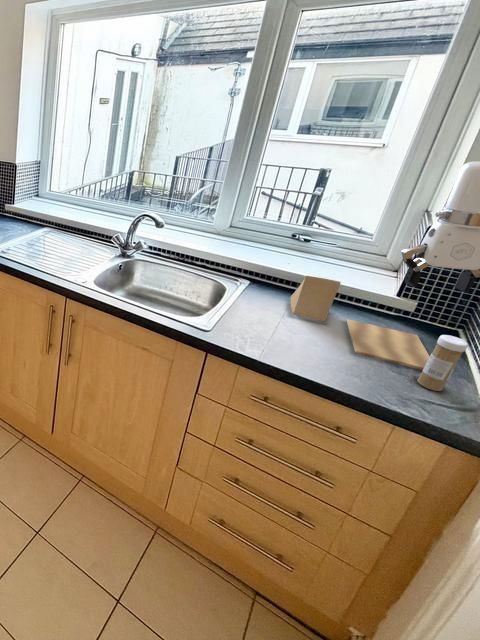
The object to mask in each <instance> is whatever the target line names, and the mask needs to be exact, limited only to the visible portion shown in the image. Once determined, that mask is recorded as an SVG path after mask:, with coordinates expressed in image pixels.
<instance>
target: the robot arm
mask: <svg viewBox="0 0 480 640" xmlns="http://www.w3.org/2000/svg"><path fill="white" fill-rule="evenodd" d="M434 216H435V217H436V218H439V220H435V221H434V222H433V223H432V225H431V226H430V228H428V230H427V232H426V234H425V236H424V237H423V239H422V241H421V243H420V245H415V246H412V247H409V248H405V249H402V250H401V251H400V253H401V256H402V261H403V262H404V264H405V265H406V267H407V268H408V269H407V272H406V274H405V277H404V283H405V284H406V285H408V286H410V287H411V288H416V287H418V285H419V282H420V280H421V277H422V275H423V272H422V271H423V270H424V269H426V268H427V267H428V266H430V267H435V268H445V269H456V270H464V272H463V271H462V272H461V273H460V274H459V276H458V278H457V281H456V283H455V285H454V288H455V289H457V290H459V291H461V292H462V293H466V294H468V293H469V292H470V290H471V289H472V287H473V285H474V283H475V282H476V279H477V278H480V161H478V160H477V161H476V160H475V161H467V162H466V163H464V164H463V165H462V166H461V167H460V169H459V172H458V174H457V176H456V179H455V181H454V184H453V187H452V189H451V191H450V194H449V196H448V197H447V201H446V203H445V206H444V207H443V208H442V210H439V211H436V212H435V214H434ZM414 255H416V258H415V259H413V256H414Z"/></svg>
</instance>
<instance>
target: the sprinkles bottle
mask: <svg viewBox="0 0 480 640" xmlns="http://www.w3.org/2000/svg"><path fill="white" fill-rule="evenodd" d="M468 346H469V343H468V342H467V341H466V340H464V339H462V338H460V337H457V336H453V335H449V334H441V335H440V336H439V337H438V339H437V341H436V345H435V347H434V349H433V351H432V352H431V354H429V356H430V357H429V359H428V361H427V363H426V365H425V367H424V369H423V370H421V373H420V375H419V377H418V378H417V380H416V382H417V383H418V384H419V385H420V386H422V387H423V388H425V389H428V390H431V391H434V392H441V391H443V390H444V387H445V385H446V384H447V382H448V380H450V378H451V376H452V374H453V372H454V371H455V367H456V366H457V364H458V362H459V360H460V358H461V356H462V355H463V353H464V352H466V350H467V348H468Z"/></svg>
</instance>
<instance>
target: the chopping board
mask: <svg viewBox="0 0 480 640" xmlns="http://www.w3.org/2000/svg"><path fill="white" fill-rule="evenodd" d="M345 321H346V323H347V328H348V333H349V336H350V340H351V343H352V347H353V350H354V353H356V354H358V355H362V356H367V357H371V358H374V359H378V360H381V361H386V362H389V363H393V364H397V365H400V366H404V367H408V368H412V369H416V370H419V371H423V369H424V367H425V365H426V363H427V361H428V359H429V357H430V354H429V352H428V351H427V349H426V348H425V346H424V344H423V342H422V341H421V339H420V337H419V335H418V334H415V333H410V332H405V331H401V330H397V329H392V328H388V327H385V326H379V325H376V324H370V323H365V322H362V321H357V320H353V319H348V318H346V319H345Z"/></svg>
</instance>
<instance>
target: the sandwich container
mask: <svg viewBox="0 0 480 640" xmlns="http://www.w3.org/2000/svg"><path fill="white" fill-rule="evenodd" d="M341 284H342V283H341V281H339V280H333V279H329V278H325V277H318V276H312V275H306V276H305V277H304V279H303V280H302V281H301V283H300V284H299V285H298V286H297V288H296V290H294V292H293V293H292V294H291V296H290V308H291V311H292V315H296V316H299V317H303V318H304V317H305V318H307V319H308V318H309V319H313V320H318V321H321V322H326V319H327V317H328V315H329V312H330V310H331V307H332V305H333V303H334V300H335V298H336V296H337V294H338V290H339V288H340V285H341Z"/></svg>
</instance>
